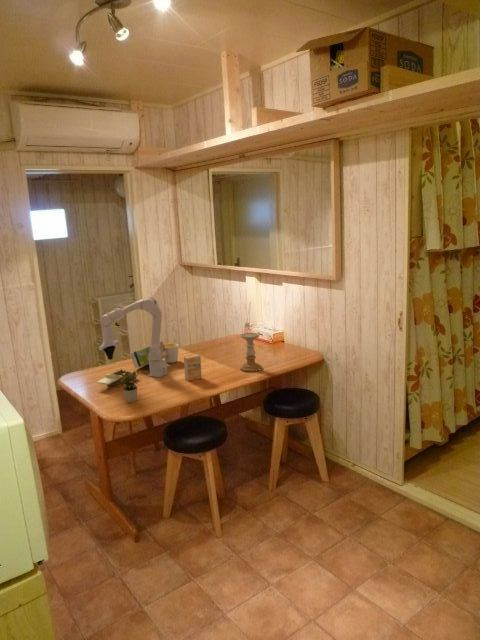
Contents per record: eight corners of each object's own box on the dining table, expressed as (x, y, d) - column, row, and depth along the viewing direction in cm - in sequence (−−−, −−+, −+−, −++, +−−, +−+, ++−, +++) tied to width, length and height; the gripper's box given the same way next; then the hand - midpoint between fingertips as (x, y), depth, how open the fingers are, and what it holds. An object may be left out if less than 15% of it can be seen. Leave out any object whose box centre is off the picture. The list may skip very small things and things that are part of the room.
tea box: (135, 369, 281) (153, 363, 273) (129, 353, 281) (146, 346, 273) (151, 362, 294) (168, 356, 286) (145, 347, 294) (162, 340, 286)
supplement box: (188, 381, 258) (186, 358, 255) (184, 379, 262) (183, 356, 259) (202, 378, 262) (200, 355, 259) (198, 376, 266) (197, 353, 263)
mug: (182, 361, 291) (181, 345, 289) (168, 365, 286) (166, 348, 283) (172, 357, 302) (171, 341, 300) (157, 360, 296) (156, 344, 294)
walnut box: (121, 376, 270) (121, 369, 269) (136, 378, 266) (135, 371, 265) (106, 384, 259) (105, 376, 258) (121, 386, 255) (120, 378, 254)
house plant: (107, 404, 232) (104, 372, 228) (124, 393, 244) (121, 363, 241) (132, 407, 227) (129, 374, 223) (148, 396, 239) (145, 365, 236)
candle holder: (242, 365, 282) (241, 332, 277) (263, 365, 279) (262, 332, 275) (238, 371, 270) (237, 337, 265) (259, 372, 268) (258, 338, 263)
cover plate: (112, 375, 261) (112, 371, 261) (123, 376, 258) (123, 372, 258) (96, 383, 250) (96, 378, 250) (108, 384, 247) (107, 380, 247)
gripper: (110, 332, 273) (113, 354, 276) (93, 338, 260) (95, 362, 263) (120, 333, 270) (122, 355, 273) (103, 339, 257) (105, 363, 260)
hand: (110, 359), depth 268 cm, fingers closed
